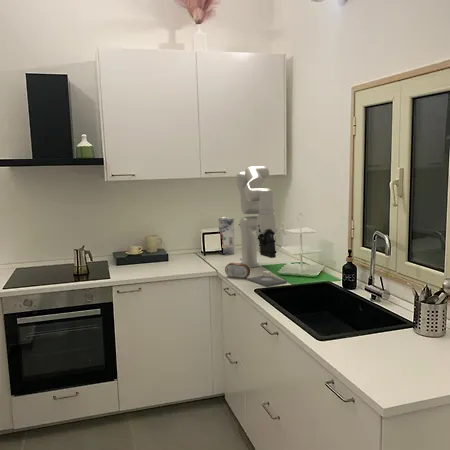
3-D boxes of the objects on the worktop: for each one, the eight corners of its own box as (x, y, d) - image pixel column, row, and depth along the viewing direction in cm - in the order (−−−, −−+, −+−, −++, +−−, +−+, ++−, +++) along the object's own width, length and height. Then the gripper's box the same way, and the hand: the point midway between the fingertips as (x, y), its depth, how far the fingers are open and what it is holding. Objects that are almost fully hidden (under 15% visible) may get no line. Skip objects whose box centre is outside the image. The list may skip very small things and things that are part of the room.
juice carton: (228, 251, 351) (227, 215, 347) (236, 254, 342) (235, 216, 338) (217, 253, 346) (217, 216, 342) (225, 255, 337) (224, 217, 333)
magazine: (274, 256, 253) (267, 229, 257) (261, 262, 264) (255, 237, 268) (280, 255, 255) (272, 229, 259) (267, 261, 266) (260, 236, 270)
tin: (250, 278, 273) (250, 263, 272) (248, 279, 271) (248, 264, 269) (226, 275, 280) (226, 261, 278) (224, 277, 277) (224, 263, 275)
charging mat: (247, 280, 269) (247, 274, 268) (267, 276, 276) (267, 270, 276) (266, 286, 254) (266, 280, 253) (286, 282, 261) (286, 276, 261)
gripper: (274, 210, 267) (274, 242, 270) (249, 212, 258) (250, 245, 261) (282, 211, 261) (282, 244, 263) (257, 213, 252) (258, 247, 254)
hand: (266, 244), depth 262 cm, fingers closed on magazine, 3 cm apart
